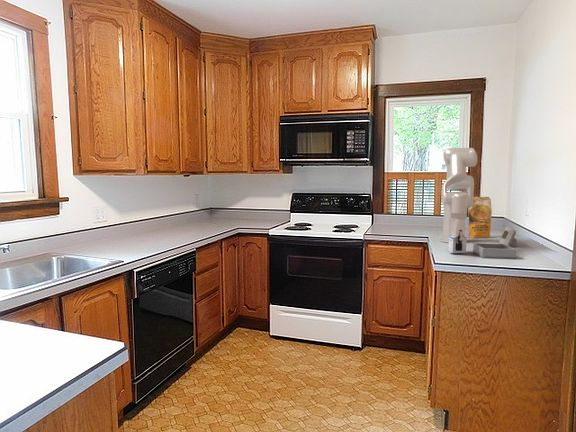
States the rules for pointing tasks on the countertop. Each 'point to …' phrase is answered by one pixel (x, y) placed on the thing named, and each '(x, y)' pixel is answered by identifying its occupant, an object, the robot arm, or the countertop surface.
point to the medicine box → (453, 245)
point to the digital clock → (508, 237)
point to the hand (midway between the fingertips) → (457, 249)
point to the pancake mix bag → (480, 218)
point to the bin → (494, 251)
